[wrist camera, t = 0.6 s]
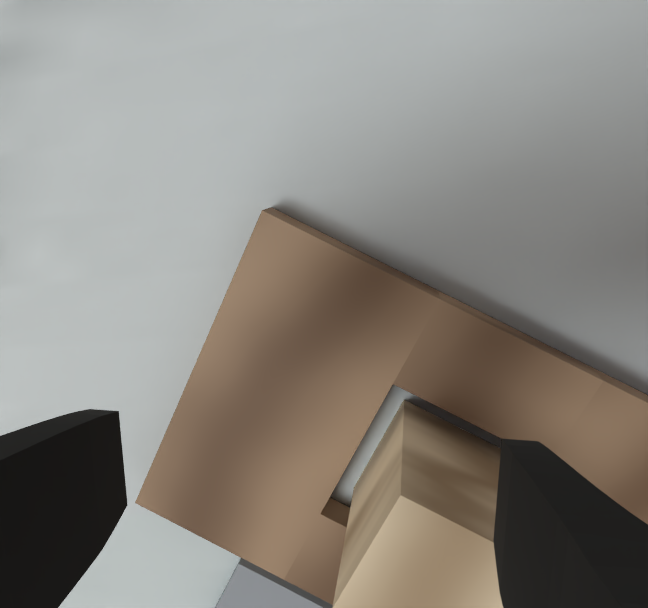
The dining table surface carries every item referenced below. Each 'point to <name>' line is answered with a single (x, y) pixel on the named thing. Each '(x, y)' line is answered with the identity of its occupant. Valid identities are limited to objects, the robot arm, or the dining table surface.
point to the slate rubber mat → (264, 591)
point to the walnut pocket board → (358, 399)
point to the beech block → (423, 520)
